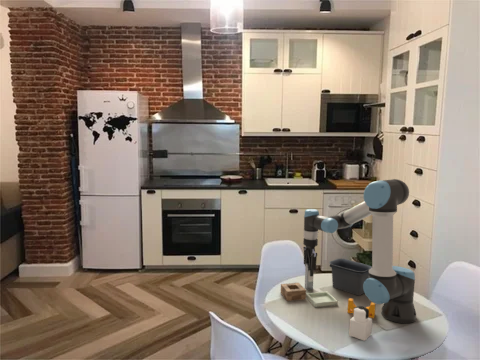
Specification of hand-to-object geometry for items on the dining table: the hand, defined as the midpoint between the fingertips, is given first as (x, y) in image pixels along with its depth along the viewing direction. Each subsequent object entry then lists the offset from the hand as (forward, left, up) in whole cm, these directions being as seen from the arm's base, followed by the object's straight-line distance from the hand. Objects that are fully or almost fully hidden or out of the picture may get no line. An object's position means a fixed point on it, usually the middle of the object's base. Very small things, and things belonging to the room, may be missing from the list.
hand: (309, 279), depth 215 cm
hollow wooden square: (-7, +12, -5) cm, 15 cm away
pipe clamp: (-32, -13, -5) cm, 35 cm away
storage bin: (-5, -22, -5) cm, 23 cm away
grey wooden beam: (0, 0, -5) cm, 5 cm away
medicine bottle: (-50, -2, -5) cm, 51 cm away
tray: (-16, 0, -5) cm, 17 cm away
